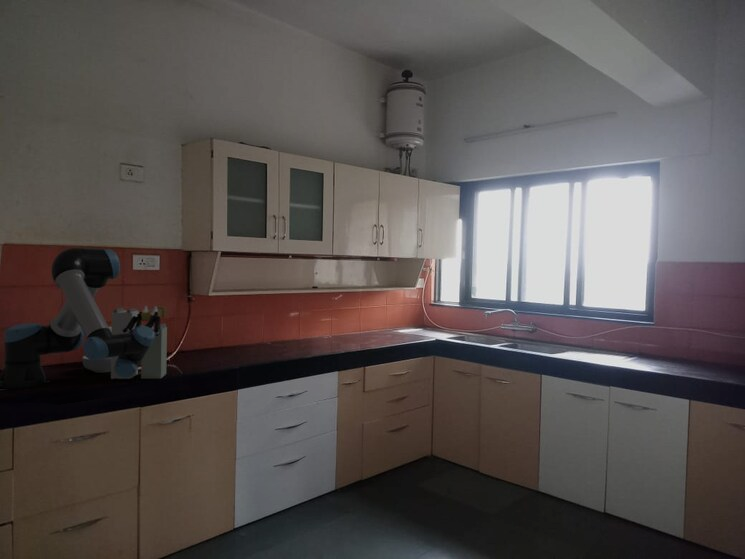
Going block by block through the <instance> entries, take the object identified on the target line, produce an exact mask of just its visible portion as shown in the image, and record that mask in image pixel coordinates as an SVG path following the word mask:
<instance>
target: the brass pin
mask: <svg viewBox="0 0 745 559" xmlns="http://www.w3.org/2000/svg"><path fill="white" fill-rule="evenodd" d="M156 306H157V305H156ZM153 309H154V308H152V309H150V310H148V311H146V312H143V311H142V312H143V313H142V321H141V322H143V321H144V322H149V320H150V319H151V318H152V317H151V314H152V312H153ZM157 310H158V316H160V318H166V317H167V306H164V305H163V306H157Z"/></svg>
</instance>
